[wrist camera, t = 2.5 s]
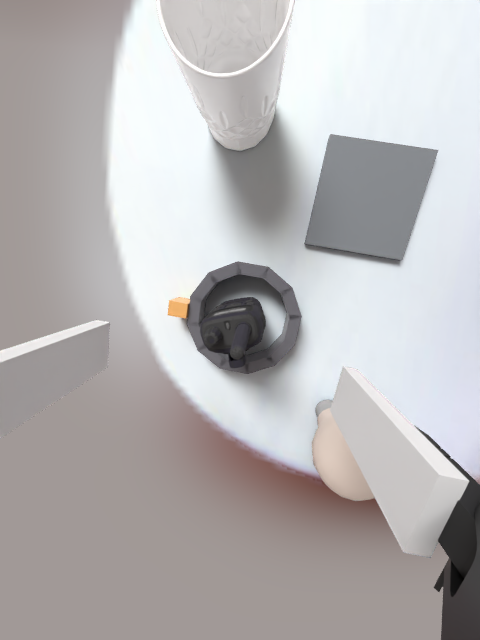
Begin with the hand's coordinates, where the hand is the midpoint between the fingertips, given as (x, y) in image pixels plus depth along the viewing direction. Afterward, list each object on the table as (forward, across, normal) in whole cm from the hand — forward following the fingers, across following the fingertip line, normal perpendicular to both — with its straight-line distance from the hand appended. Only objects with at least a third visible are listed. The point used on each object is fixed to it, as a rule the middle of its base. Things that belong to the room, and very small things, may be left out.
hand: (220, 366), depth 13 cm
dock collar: (+14, 0, 0) cm, 14 cm away
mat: (+14, -11, -14) cm, 23 cm away
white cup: (+15, +3, -20) cm, 25 cm away
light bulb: (+14, -12, +10) cm, 21 cm away
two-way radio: (+15, 0, 0) cm, 15 cm away
